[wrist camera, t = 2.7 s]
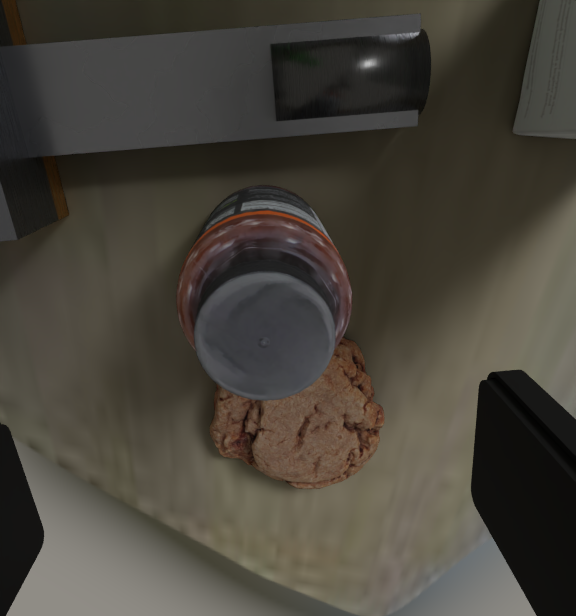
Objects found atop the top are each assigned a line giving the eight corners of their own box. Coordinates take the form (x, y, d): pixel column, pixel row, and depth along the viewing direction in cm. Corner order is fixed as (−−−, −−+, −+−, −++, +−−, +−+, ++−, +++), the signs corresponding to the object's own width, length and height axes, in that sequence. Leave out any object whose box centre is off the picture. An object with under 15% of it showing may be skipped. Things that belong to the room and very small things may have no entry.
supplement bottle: (289, 317, 25) (305, 461, 15) (185, 268, 24) (120, 386, 13) (346, 218, 23) (412, 300, 13) (236, 158, 22) (209, 196, 11)
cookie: (314, 495, 30) (319, 533, 27) (174, 412, 27) (163, 445, 24) (422, 388, 27) (440, 418, 25) (279, 283, 25) (280, 304, 22)
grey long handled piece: (409, -55, 19) (455, -111, 14) (405, 187, 23) (441, 204, 18) (-232, -6, 19) (-395, -46, 14) (-133, 231, 22) (-237, 260, 18)
